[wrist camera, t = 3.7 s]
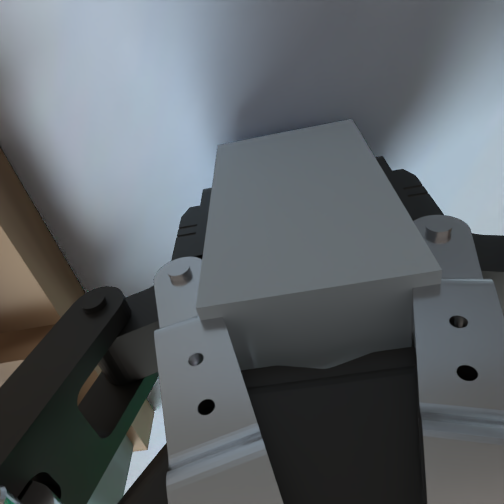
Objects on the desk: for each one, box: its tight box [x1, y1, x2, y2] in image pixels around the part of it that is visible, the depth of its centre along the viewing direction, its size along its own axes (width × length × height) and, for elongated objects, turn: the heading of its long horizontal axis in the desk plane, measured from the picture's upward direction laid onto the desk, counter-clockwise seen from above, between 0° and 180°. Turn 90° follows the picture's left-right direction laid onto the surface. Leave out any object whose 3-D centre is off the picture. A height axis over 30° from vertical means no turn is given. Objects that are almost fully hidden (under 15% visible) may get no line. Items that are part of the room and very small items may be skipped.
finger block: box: [196, 119, 442, 370], centre depth 11 cm, size 4×4×7 cm
